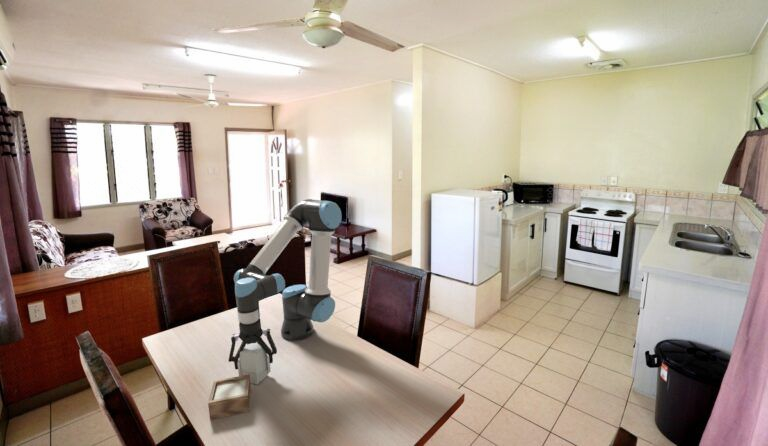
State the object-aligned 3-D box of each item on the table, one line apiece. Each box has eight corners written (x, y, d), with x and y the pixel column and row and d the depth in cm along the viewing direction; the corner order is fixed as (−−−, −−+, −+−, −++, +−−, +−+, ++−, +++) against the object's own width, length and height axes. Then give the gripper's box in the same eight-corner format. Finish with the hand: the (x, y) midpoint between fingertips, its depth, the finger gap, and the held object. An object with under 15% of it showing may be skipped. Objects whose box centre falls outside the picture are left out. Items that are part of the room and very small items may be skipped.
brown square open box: (251, 389, 132) (249, 374, 131) (249, 411, 121) (247, 395, 120) (215, 396, 129) (213, 380, 127) (210, 419, 117) (207, 402, 116)
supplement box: (269, 373, 140) (266, 343, 138) (257, 384, 134) (254, 354, 131) (254, 369, 143) (250, 340, 140) (241, 381, 136) (237, 351, 133)
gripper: (280, 310, 140) (285, 362, 144) (218, 319, 133) (224, 372, 138) (281, 319, 133) (285, 373, 137) (215, 329, 126) (222, 385, 131)
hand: (255, 373), depth 138 cm, fingers closed on supplement box, 10 cm apart
